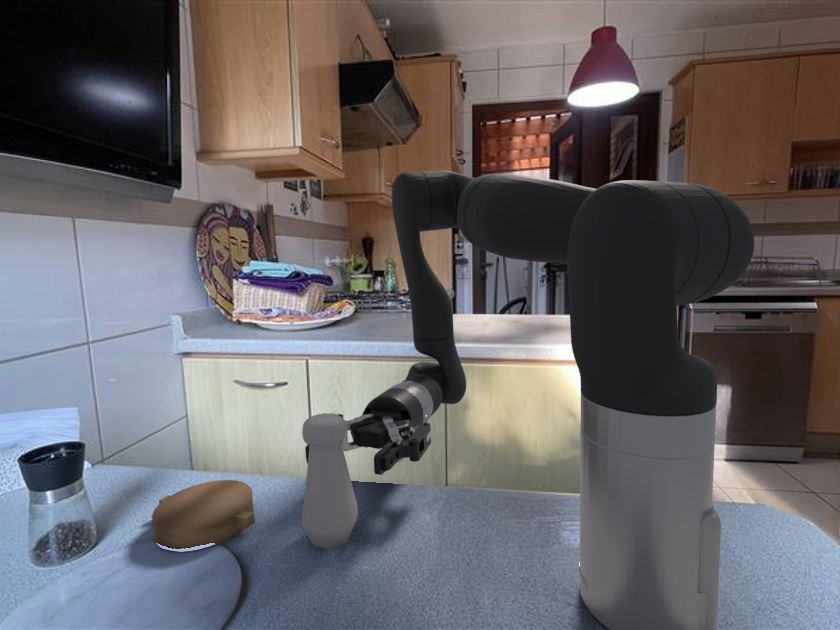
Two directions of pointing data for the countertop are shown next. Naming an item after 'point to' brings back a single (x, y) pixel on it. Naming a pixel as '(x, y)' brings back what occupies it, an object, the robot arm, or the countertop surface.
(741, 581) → the countertop surface
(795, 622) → the countertop surface
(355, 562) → the countertop surface
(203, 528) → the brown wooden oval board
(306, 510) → the salt shaker
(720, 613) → the countertop surface
